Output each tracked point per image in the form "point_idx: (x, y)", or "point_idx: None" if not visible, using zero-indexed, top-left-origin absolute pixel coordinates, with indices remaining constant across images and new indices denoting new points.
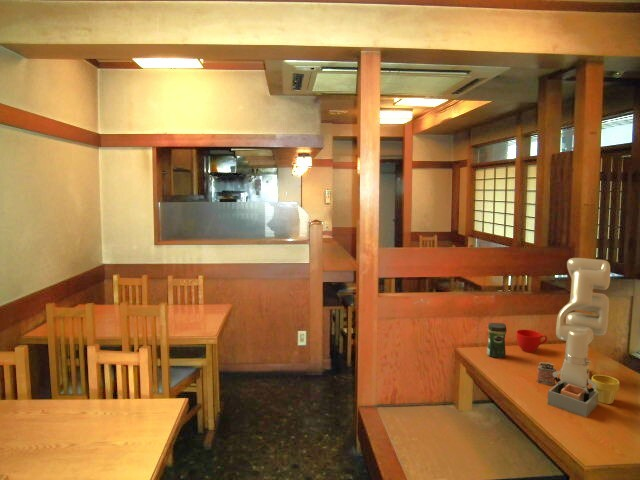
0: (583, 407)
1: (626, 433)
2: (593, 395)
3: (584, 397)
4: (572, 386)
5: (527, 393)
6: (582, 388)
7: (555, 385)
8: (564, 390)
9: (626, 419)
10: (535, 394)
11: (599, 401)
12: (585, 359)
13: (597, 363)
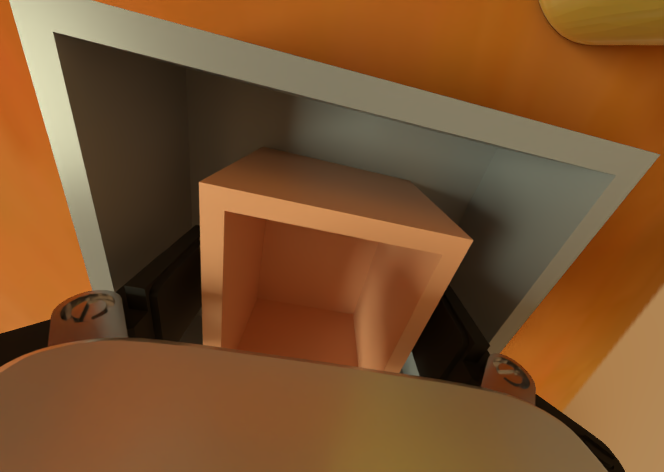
0: None
1: (556, 381)
2: (525, 303)
3: (418, 357)
4: (279, 216)
5: (14, 240)
6: (422, 243)
7: (93, 275)
8: (229, 341)
9: (643, 255)
10: (58, 224)
11: (559, 32)
12: None
13: None
